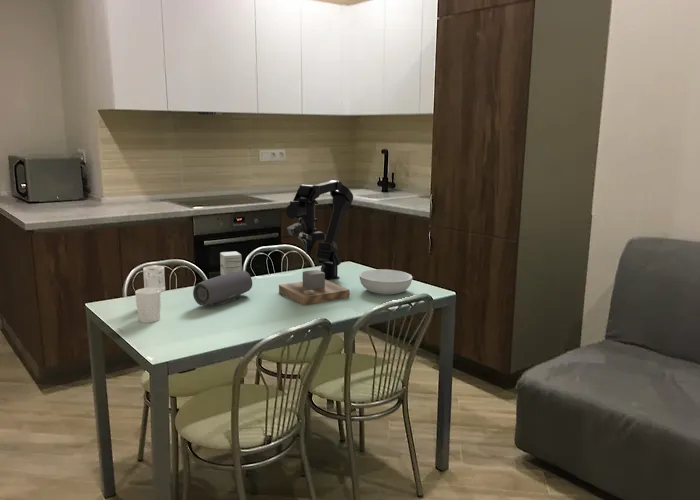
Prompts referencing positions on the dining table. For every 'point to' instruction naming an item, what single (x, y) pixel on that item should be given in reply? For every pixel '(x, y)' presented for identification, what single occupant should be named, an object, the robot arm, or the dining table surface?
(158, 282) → the white tall cylindrical part
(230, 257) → the supplement box
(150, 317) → the white cup
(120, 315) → the dining table surface
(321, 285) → the grey rectangular block
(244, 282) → the bluetooth speaker
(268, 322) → the dining table surface
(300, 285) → the brown wooden flat slab
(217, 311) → the dining table surface
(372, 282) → the serving bowl
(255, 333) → the dining table surface
